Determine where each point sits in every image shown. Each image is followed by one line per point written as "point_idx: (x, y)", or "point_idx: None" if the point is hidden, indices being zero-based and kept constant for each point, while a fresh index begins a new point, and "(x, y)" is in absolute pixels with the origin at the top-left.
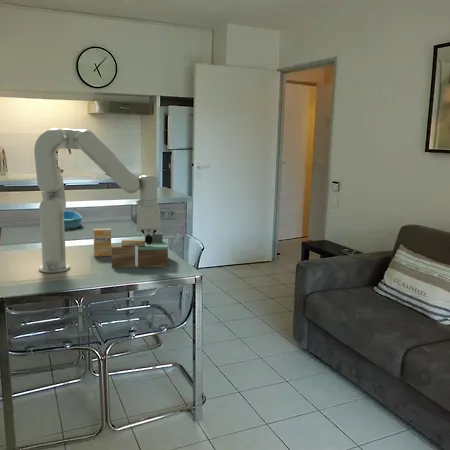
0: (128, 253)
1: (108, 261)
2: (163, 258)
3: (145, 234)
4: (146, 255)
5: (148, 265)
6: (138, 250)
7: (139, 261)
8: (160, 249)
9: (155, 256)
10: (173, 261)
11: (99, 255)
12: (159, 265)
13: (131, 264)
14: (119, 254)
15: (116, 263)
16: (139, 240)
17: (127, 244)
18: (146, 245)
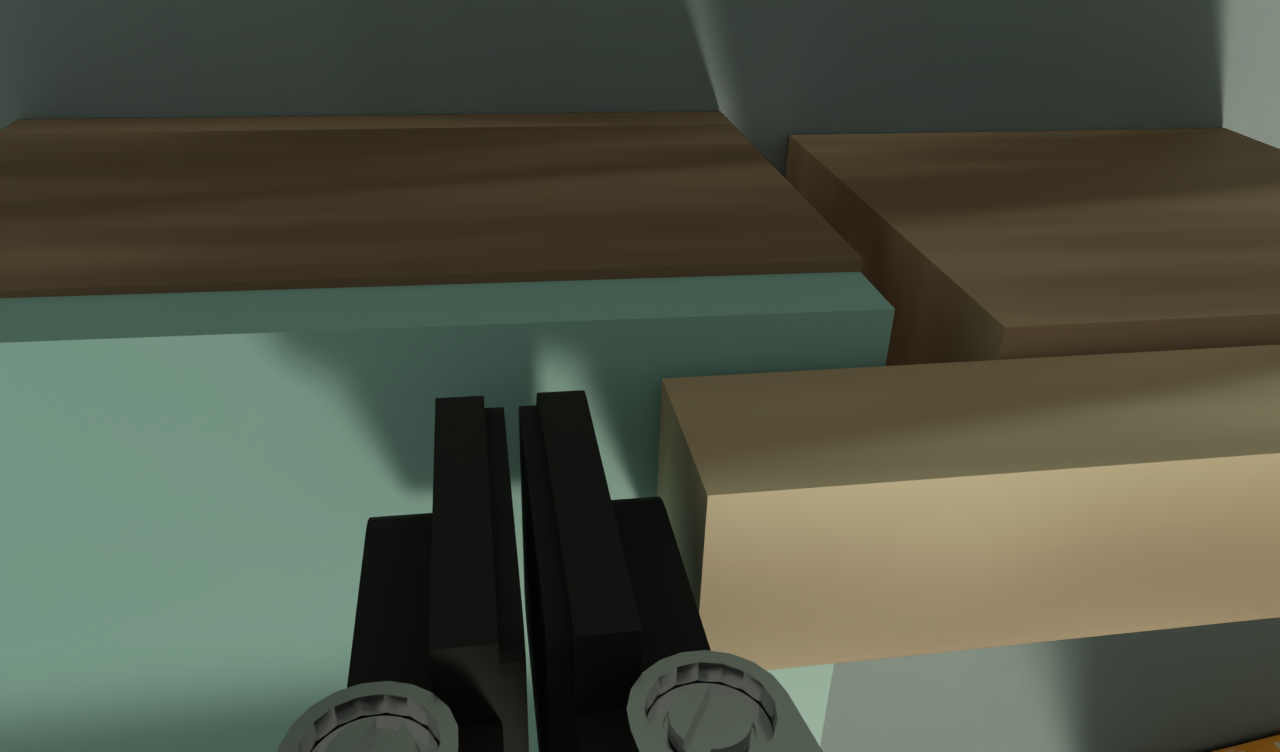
0: (1071, 237)
1: None
2: (47, 187)
3: (743, 719)
4: (559, 202)
5: (490, 124)
6: (835, 255)
7: (719, 150)
8: (48, 300)
9: (285, 198)
10: None
11: (1273, 745)
12: (215, 126)
13: (876, 148)
14: (1274, 222)
15: (1190, 153)
16: (917, 540)
17: (1270, 377)
18: None
